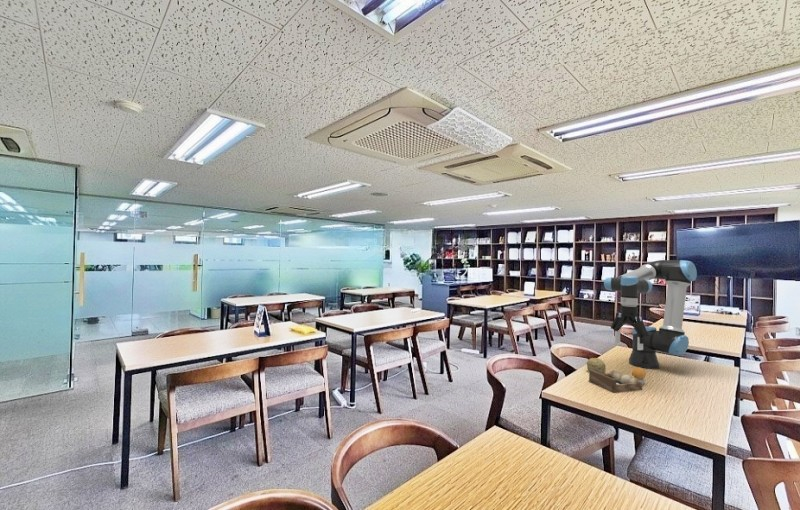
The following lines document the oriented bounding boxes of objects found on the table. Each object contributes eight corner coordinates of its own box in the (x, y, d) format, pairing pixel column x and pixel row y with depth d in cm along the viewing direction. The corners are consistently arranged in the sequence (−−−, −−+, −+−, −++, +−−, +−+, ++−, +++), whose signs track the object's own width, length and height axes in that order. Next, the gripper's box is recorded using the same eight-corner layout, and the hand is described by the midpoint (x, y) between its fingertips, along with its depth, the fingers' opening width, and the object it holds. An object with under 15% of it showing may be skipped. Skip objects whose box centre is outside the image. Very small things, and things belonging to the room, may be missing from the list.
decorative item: (602, 382, 191) (613, 367, 191) (588, 371, 191) (599, 356, 191) (593, 376, 200) (603, 362, 200) (579, 365, 200) (590, 352, 200)
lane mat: (615, 379, 185) (615, 378, 185) (642, 389, 170) (642, 389, 170) (589, 381, 180) (589, 380, 180) (614, 392, 166) (614, 391, 166)
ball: (637, 376, 183) (637, 365, 183) (648, 380, 177) (648, 368, 177) (628, 377, 181) (628, 365, 181) (639, 381, 175) (639, 369, 175)
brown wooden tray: (615, 379, 185) (615, 367, 185) (642, 389, 170) (642, 377, 170) (589, 381, 180) (589, 370, 180) (614, 392, 166) (614, 380, 166)
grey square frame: (637, 381, 181) (637, 376, 181) (644, 384, 178) (644, 379, 178) (632, 382, 180) (632, 377, 180) (638, 384, 177) (638, 379, 177)
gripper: (603, 302, 192) (603, 340, 192) (645, 309, 168) (644, 353, 168) (615, 302, 194) (614, 340, 194) (657, 309, 169) (657, 352, 169)
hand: (628, 346), depth 181 cm, fingers open, 13 cm apart
